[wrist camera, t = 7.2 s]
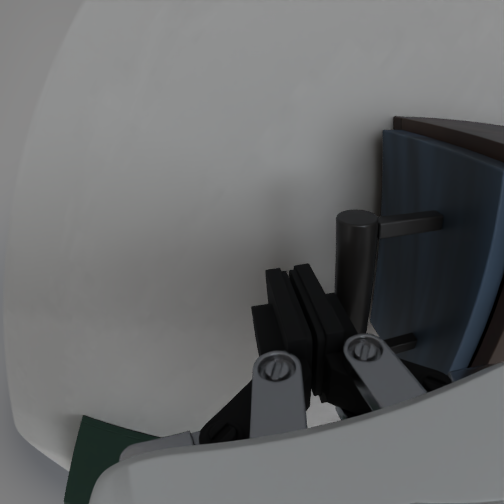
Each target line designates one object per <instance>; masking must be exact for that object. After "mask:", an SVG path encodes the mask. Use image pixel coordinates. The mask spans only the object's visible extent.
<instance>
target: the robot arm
mask: <svg viewBox="0 0 504 504" xmlns="http://www.w3.org/2000/svg"><path fill="white" fill-rule="evenodd" d="M266 284H267V294H268V304H264V305H257V306H251V308H252V316H253V324H254V331H255V337H256V343H257V348H258V353H259V358H258V359H257V360H256V361H255V363H254V366H253V376H252V380H251V381H250V382H249V383H248V384H247V385H246V386H245V387H244V388H243V389H242V390H241V391H240V392H239V393H238V394H237V395H236V396H235V397H234V398H233V399H232V400H231V401H230V402H229V403H228V404H227V405H226V406H225V407H223V408H222V409H221V410H220V411H219V412H218V413H217V414H216V415H215V416H214V417H213V418H212V419H211V420H210V421H209V422H207V423H206V424H205V426H204V427H203V428H202V429H201V431H198V432H194V433H190V431H187V432H183V433H179V434H175V435H171V436H167V437H163V438H158V439H154V440H150V441H145V442H140V443H135V444H133V445H130V446H128V447H127V448H125V449H124V450H123V451H122V453H121V455H120V458H119V462H118V463H116V464H114V465H112V466H111V467H109V468H108V469H106V470H105V471H104V472H103V473H102V474H101V475H100V477H99V478H98V479H97V481H96V483H95V486H94V488H93V491H92V494H91V497H90V501H89V504H504V362H501V363H497V364H486V365H481V366H476V367H470V368H465V369H459V370H454V371H449V372H448V374H447V375H446V374H444V373H442V372H440V371H438V370H435V369H431V368H428V367H425V366H422V365H419V364H415V363H412V362H409V361H406V360H403V359H400V358H398V357H397V356H396V354H395V353H394V352H393V351H392V350H391V349H390V347H389V346H388V345H387V344H386V343H385V342H384V341H383V340H382V339H381V338H380V337H378V336H375V335H372V334H368V333H361V334H358V332H357V331H356V329H355V327H354V325H353V323H352V322H351V320H350V318H349V316H348V315H347V313H346V311H345V309H344V308H343V306H342V304H341V302H340V301H339V299H338V297H337V296H336V294H335V293H329V294H325V292H324V290H323V289H322V287H321V285H320V283H319V281H318V279H317V278H316V276H315V274H314V272H313V270H312V268H311V267H310V265H309V264H302V265H295V266H294V270H289V277H288V274H287V272H286V271H281V269H280V268H275V269H269V270H266ZM311 389H312V392H313V395H314V396H317V395H319V397H320V400H321V403H324V402H328V403H330V404H333V405H335V409H336V411H337V414H338V415H339V417H340V419H341V421H337V422H333V423H329V424H324V425H320V426H316V427H311V428H307V419H306V410H307V409H308V408H309V407H310V397H311Z"/></svg>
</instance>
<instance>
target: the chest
mask: <svg viewBox="0 0 504 504" xmlns="http://www.w3.org/2000/svg"><path fill="white" fill-rule="evenodd" d="M158 438H159V437H155V436H151V435H147V434H143V433H139V432H135V431H132V430H128V429H124V428H121V427H118V426H114V425H111V424H108V423H105V422H101V421H98V420H95V419H92V418H89V417H87V416H83V417H82V421H81V425H80V428H79V432H78V436H77V440H76V445H75V449H74V453H73V457H72V462H71V467H70V471H69V476H68V482H67V486H66V492H65V498H64V504H89V501H90V497H91V494H92V491H93V488H94V486H95V483H96V481H97V479H98V478H99V477H100V475H101V474H102V473H103V472H104V471H105V470H106V469H108V468H109V467H111V466H112V465H114V464H116V463H118V462H119V458H120V455H121V453H122V451H123V450H124V449H125V448H127V447H128V446H130V445H133V444H135V443H140V442H145V441H150V440H154V439H158Z"/></svg>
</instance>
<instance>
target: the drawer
mask: <svg viewBox="0 0 504 504" xmlns="http://www.w3.org/2000/svg"><path fill="white" fill-rule="evenodd" d="M382 132H383V173H382V204H381V217H377V216H376V215H375V214H373V213H371V212H368V211H364V210H347V211H343V212H341V213H339V214H338V215H337V217H336V266H335V292H334V293H335V294H336V296H337V297H338V299H339V301H340V302H341V304H342V306H343V308H344V309H345V311H346V313H347V315H348V316H349V318H350V320H351V322H352V323H353V325H354V327H355V329H356V331H357V332H358V334H361V333H366V331H367V325H368V318H369V311H370V303H371V296H372V287H373V279H374V269H375V259H376V248H377V238H378V239H379V248H378V259H377V269H376V278H375V287H374V295H373V302H372V310H371V317H370V322H371V324H372V325H373V327H374V329H375V330H376V332H377V334H378V335H379V337H380V338H381V339H382V340H383V341H384V342H385V343H386V344H387V345H388V346H389V347H390V349H391V350H392V351H393V352H394V353H395V354H396V356H397V357H398V358H400V359H403V360H406V361H409V362H412V363H415V364H419V365H422V366H425V367H428V368H431V369H435V370H438V371H440V372H442V373H444V374H446V375H447V374H448V372H449V371H454V370H459V369H465V368H470V367H471V365H472V363H473V361H474V359H475V357H476V355H477V353H478V350H479V348H480V346H481V344H482V341H483V339H484V337H485V334H486V332H487V329H488V327H489V324H490V322H491V319H492V317H493V314H494V311H495V309H496V306H497V303H498V300H499V297H500V294H501V291H502V288H503V285H504V163H503V162H501V161H498V160H495V159H493V158H490V157H488V156H485V155H482V154H479V153H477V152H474V151H471V150H468V149H465V148H462V147H459V146H456V145H453V144H450V143H447V142H443V141H440V140H437V139H433V138H430V137H426V136H423V135H419V134H416V133H412V132H408V131H404V130H383V131H382Z"/></svg>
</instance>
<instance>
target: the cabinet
mask: <svg viewBox="0 0 504 504" xmlns="http://www.w3.org/2000/svg"><path fill="white" fill-rule="evenodd" d="M394 130H404V131H408V132H412V133H416V134H419V135H423V136H426V137H430V138H433V139H437V140H440V141H443V142H447V143H450V144H453V145H456V146H459V147H462V148H465V149H468V150H471V151H474V152H477V153H479V154H482V155H485V156H488V157H490V158H493V159H495V160H498V161H501V162H503V163H504V126H500V125H493V124H486V123H478V122H469V121H460V120H449V119H437V118H422V117H400V116H395V117H394ZM501 362H504V285H503V288H502V291H501V294H500V297H499V300H498V303H497V306H496V309H495V311H494V314H493V317H492V319H491V322H490V324H489V327H488V329H487V332H486V334H485V337H484V339H483V341H482V344H481V346H480V348H479V350H478V353H477V355H476V357H475V359H474V361H473V363H472V365H471V367H476V366H481V365H486V364H497V363H501Z"/></svg>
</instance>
